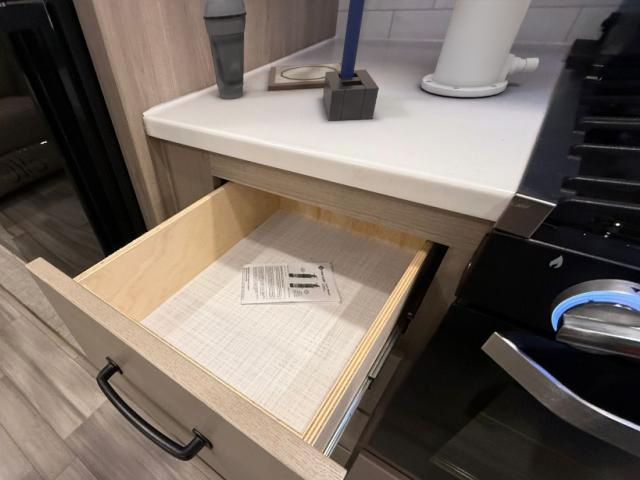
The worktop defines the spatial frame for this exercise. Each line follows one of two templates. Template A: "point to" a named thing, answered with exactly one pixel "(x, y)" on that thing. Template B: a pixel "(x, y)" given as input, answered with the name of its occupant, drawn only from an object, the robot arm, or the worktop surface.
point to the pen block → (349, 96)
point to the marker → (352, 38)
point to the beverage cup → (227, 44)
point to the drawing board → (300, 76)
